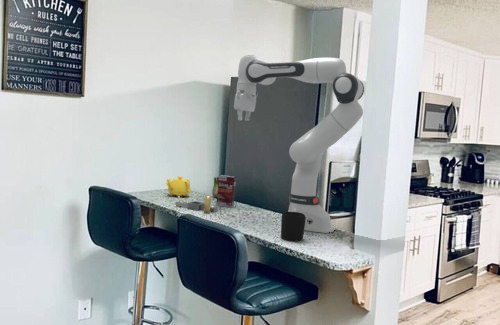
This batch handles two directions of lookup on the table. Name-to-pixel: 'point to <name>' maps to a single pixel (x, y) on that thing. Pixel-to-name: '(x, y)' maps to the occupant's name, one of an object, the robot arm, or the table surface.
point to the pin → (207, 204)
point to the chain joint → (195, 206)
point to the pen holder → (292, 226)
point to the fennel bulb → (215, 187)
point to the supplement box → (226, 191)
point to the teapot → (178, 186)
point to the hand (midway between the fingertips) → (243, 120)
